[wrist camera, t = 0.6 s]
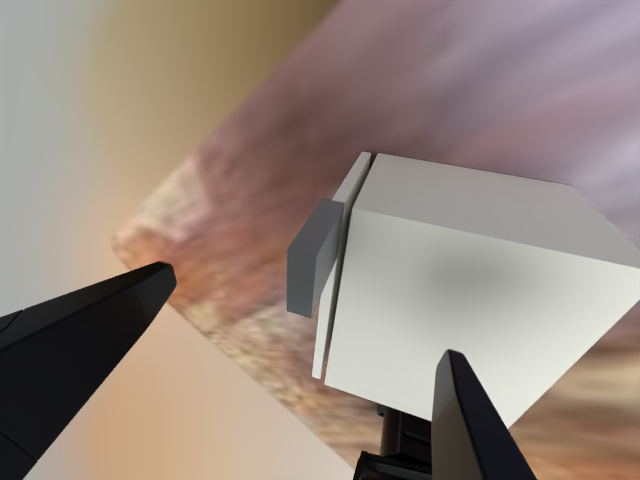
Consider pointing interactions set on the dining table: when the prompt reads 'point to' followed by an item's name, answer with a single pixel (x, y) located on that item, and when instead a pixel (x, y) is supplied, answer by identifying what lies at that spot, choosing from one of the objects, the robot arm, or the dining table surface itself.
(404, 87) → the dining table surface
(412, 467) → the robot arm
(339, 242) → the front flap
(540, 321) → the carton
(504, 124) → the dining table surface
